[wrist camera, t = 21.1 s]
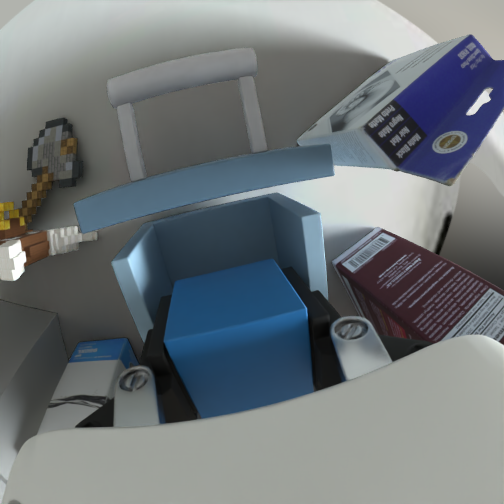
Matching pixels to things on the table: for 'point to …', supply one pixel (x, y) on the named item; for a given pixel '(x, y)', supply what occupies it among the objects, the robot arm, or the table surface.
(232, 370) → the blue cube
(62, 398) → the ink box
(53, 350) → the perfume bottle
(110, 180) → the table surface
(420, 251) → the supplement box
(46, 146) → the figurine
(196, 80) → the drawer
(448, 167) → the ink box
